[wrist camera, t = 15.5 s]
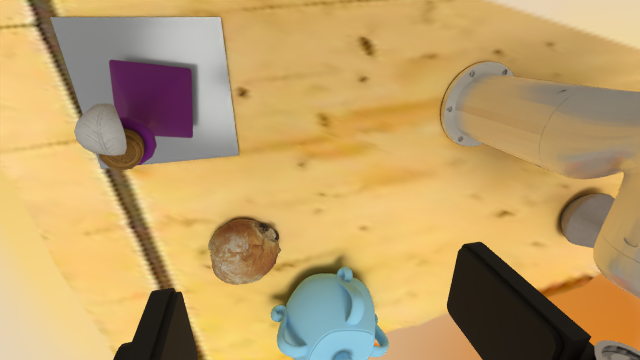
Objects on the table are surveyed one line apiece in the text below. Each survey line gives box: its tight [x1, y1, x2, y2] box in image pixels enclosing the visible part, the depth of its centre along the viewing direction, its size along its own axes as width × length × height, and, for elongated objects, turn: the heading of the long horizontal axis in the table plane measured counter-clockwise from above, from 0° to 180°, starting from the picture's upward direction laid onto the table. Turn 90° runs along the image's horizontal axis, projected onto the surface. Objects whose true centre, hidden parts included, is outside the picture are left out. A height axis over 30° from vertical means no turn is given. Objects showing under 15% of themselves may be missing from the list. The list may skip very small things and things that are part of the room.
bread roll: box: [208, 219, 281, 285], centre depth 45 cm, size 10×10×8 cm
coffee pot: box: [561, 193, 615, 248], centre depth 55 cm, size 21×12×15 cm, turn 68°
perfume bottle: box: [74, 60, 193, 170], centre depth 27 cm, size 8×8×18 cm
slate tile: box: [50, 17, 239, 169], centre depth 36 cm, size 16×16×1 cm
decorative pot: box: [271, 267, 389, 360], centre depth 50 cm, size 16×16×14 cm
